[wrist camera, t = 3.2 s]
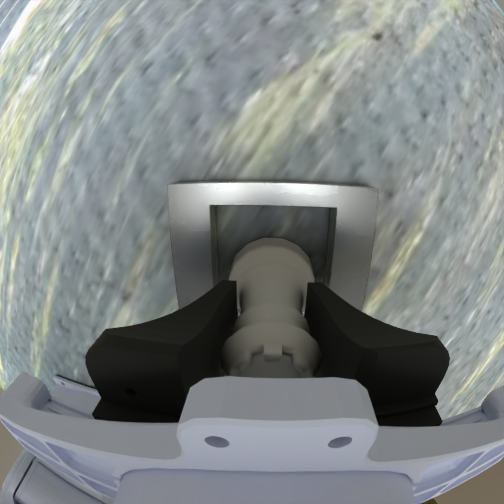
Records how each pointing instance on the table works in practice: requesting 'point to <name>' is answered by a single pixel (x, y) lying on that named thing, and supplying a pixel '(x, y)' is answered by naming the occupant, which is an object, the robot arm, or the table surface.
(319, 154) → the table surface
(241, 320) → the rook chess piece
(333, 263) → the hole rail
